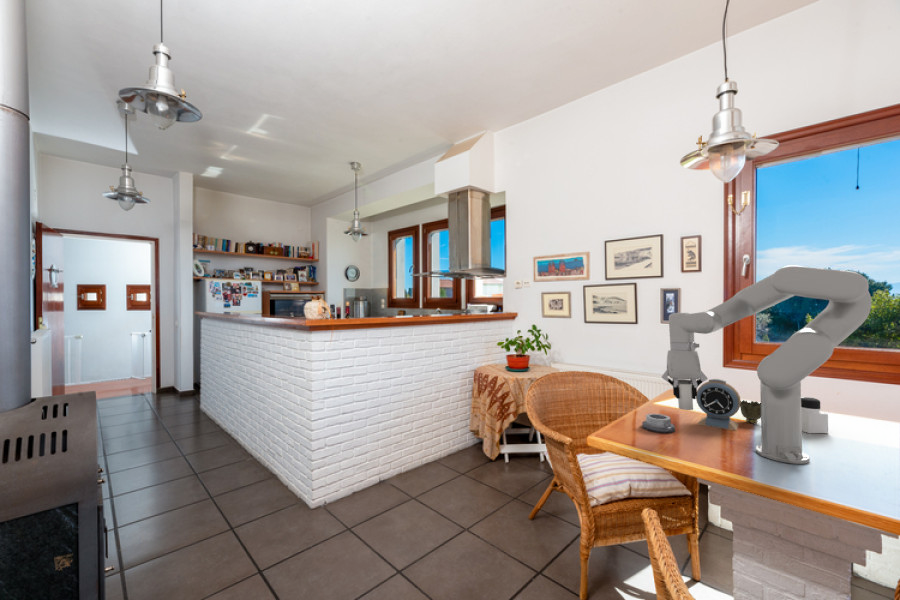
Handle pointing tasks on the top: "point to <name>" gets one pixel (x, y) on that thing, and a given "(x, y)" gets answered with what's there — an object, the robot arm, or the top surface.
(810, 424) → the medicine bottle
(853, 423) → the top surface
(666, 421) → the ring
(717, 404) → the alarm clock
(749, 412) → the cup
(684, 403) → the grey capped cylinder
